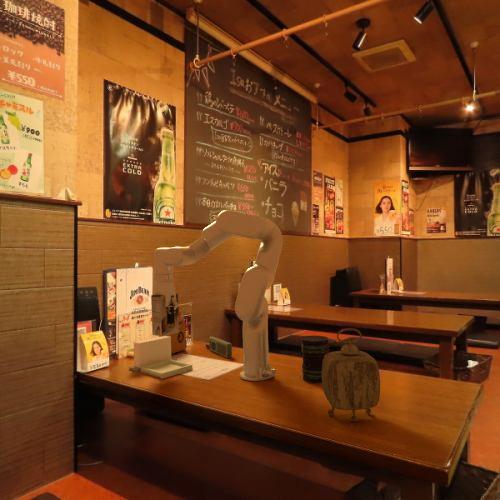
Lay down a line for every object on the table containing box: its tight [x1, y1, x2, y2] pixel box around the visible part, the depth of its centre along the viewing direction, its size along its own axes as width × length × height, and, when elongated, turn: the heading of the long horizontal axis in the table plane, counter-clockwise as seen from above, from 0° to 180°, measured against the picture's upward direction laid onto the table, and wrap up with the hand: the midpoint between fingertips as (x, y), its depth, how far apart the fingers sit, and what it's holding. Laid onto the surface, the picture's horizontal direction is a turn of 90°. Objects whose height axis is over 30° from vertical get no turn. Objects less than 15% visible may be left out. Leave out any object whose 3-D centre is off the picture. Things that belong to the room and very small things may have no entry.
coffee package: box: [158, 304, 188, 355], centre depth 198 cm, size 10×12×22 cm
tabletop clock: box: [321, 327, 381, 423], centre depth 113 cm, size 14×9×25 cm, turn 92°
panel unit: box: [128, 336, 178, 373], centre depth 175 cm, size 6×20×11 cm, turn 138°
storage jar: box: [301, 335, 330, 384], centre depth 149 cm, size 10×10×15 cm
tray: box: [140, 360, 193, 380], centre depth 166 cm, size 14×15×2 cm
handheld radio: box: [205, 336, 233, 359], centre depth 194 cm, size 7×3×25 cm
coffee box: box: [150, 293, 179, 337], centre depth 166 cm, size 9×6×16 cm
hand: (165, 322), depth 166 cm, fingers closed on coffee box, 6 cm apart
